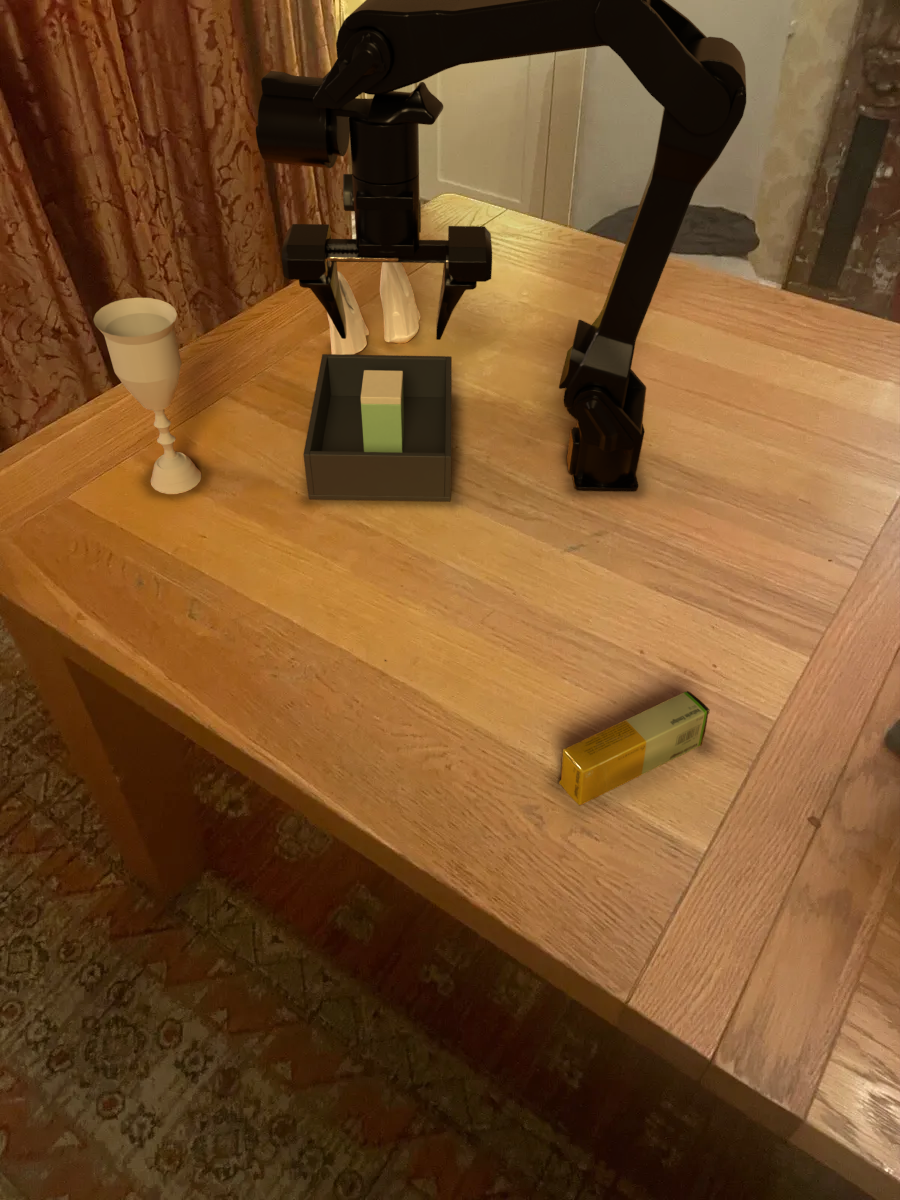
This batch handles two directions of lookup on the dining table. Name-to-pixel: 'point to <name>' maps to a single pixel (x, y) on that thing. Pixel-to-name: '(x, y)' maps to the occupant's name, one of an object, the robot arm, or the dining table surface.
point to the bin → (339, 434)
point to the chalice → (150, 375)
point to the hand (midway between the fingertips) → (391, 337)
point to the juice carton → (382, 411)
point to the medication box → (633, 747)
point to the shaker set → (396, 312)
